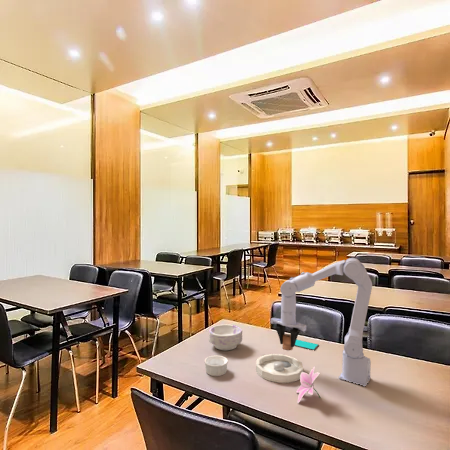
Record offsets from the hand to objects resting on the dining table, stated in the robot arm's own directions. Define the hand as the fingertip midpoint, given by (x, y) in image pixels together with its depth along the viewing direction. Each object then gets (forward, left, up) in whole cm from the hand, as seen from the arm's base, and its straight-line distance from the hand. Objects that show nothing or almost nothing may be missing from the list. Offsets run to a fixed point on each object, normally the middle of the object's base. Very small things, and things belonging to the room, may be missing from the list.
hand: (287, 344), depth 127 cm
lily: (-15, +16, -9) cm, 24 cm away
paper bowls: (+31, 0, -9) cm, 32 cm away
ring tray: (+1, +6, -9) cm, 10 cm away
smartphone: (+5, -24, -9) cm, 26 cm away
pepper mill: (0, 0, -1) cm, 1 cm away
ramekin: (+20, +21, -9) cm, 30 cm away
